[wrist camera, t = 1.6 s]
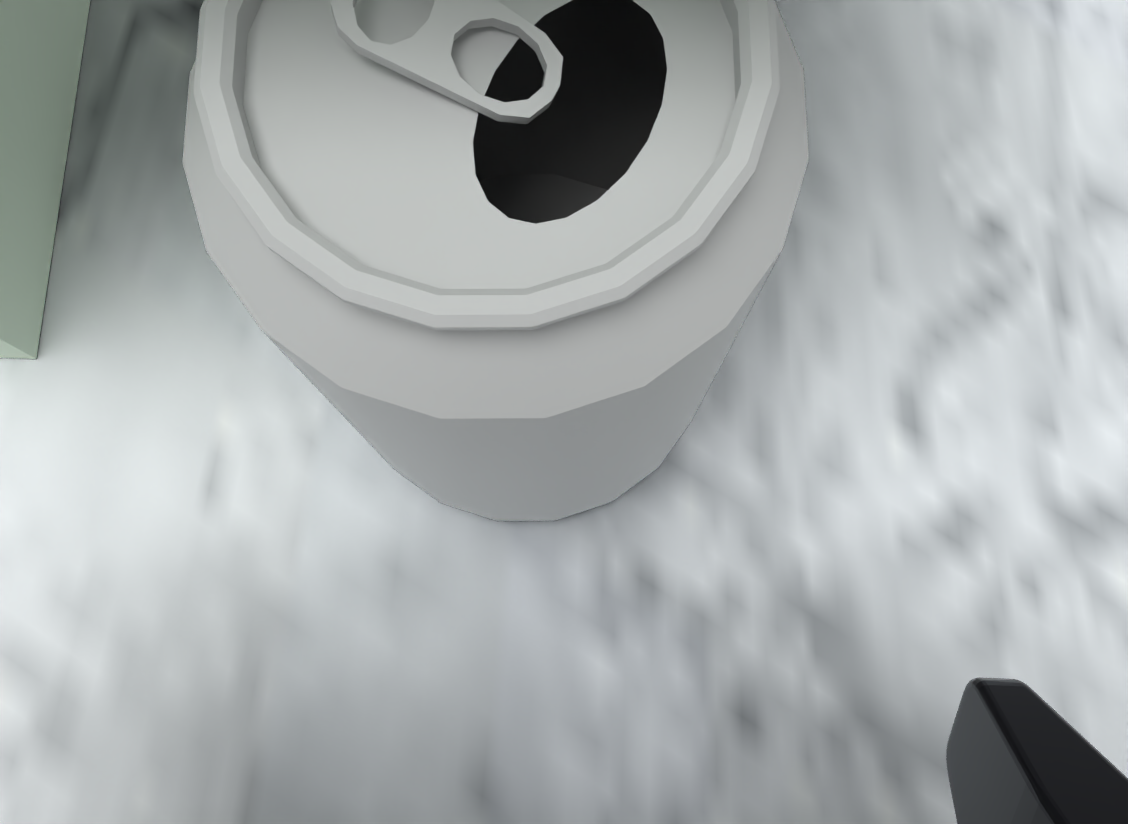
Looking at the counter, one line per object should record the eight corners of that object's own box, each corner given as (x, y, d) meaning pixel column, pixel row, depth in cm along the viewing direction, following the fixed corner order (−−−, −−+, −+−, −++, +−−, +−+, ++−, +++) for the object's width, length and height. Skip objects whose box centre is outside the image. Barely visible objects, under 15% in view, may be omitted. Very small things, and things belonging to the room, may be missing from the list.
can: (607, 591, 22) (654, 519, 10) (288, 429, 22) (-20, 183, 11) (760, 278, 23) (958, -107, 11) (456, 136, 24) (346, -361, 12)
